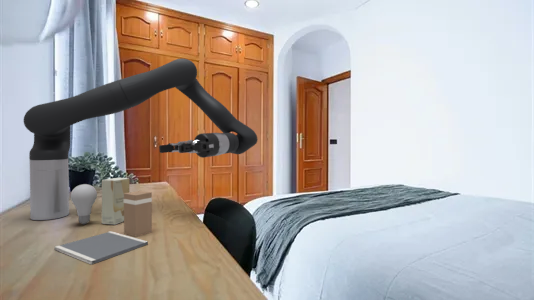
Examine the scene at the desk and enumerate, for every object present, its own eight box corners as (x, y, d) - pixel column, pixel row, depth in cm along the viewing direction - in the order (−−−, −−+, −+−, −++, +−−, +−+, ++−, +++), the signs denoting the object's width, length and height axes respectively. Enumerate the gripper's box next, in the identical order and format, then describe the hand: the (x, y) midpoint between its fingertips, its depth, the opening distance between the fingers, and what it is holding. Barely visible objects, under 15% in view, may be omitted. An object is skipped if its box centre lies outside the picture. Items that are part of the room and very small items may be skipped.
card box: (123, 233, 70) (123, 193, 69) (140, 228, 74) (140, 190, 73) (135, 237, 67) (135, 195, 67) (152, 231, 71) (151, 192, 71)
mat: (54, 249, 59) (54, 246, 59) (110, 233, 70) (110, 231, 69) (91, 264, 52) (91, 261, 52) (147, 244, 62) (147, 241, 62)
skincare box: (114, 225, 76) (114, 180, 76) (101, 224, 77) (100, 179, 77) (130, 219, 83) (130, 177, 82) (117, 218, 84) (117, 177, 83)
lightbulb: (65, 225, 76) (64, 185, 75) (87, 220, 81) (87, 182, 81) (80, 228, 73) (80, 186, 73) (102, 222, 79) (102, 183, 79)
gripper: (195, 133, 95) (152, 136, 81) (227, 132, 87) (185, 134, 73) (197, 156, 95) (155, 162, 82) (229, 156, 87) (188, 163, 74)
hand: (169, 149), depth 78 cm, fingers open, 8 cm apart
